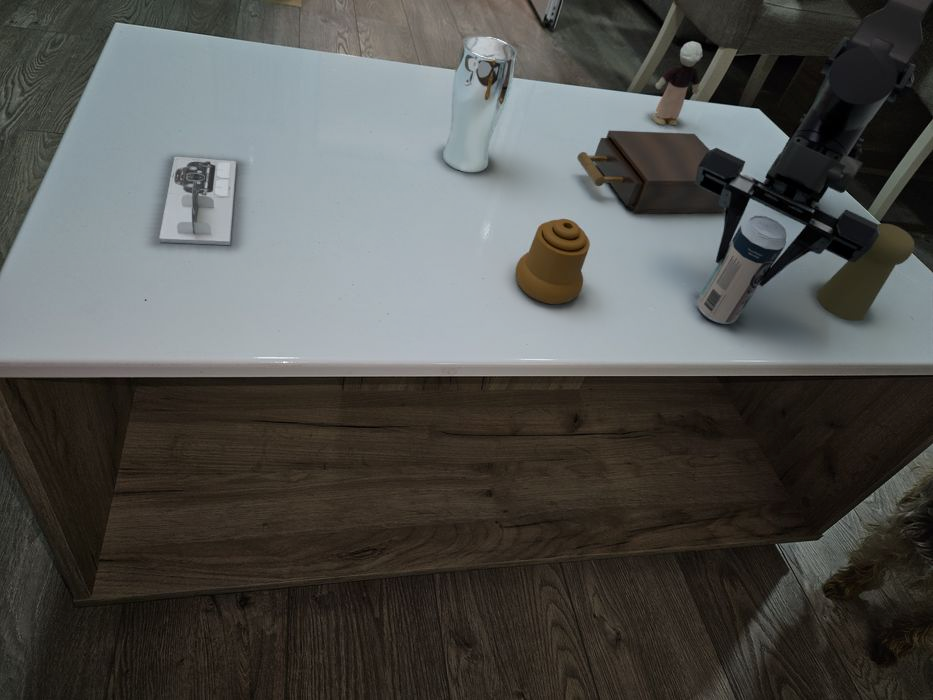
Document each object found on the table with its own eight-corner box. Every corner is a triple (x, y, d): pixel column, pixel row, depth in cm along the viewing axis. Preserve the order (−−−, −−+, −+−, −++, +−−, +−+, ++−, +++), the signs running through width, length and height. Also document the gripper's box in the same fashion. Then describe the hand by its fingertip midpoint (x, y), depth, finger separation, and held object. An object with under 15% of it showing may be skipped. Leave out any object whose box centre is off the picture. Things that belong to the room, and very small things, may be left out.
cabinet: (634, 213, 90) (648, 180, 86) (596, 162, 98) (608, 130, 94) (722, 212, 95) (739, 181, 91) (680, 163, 102) (694, 133, 99)
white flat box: (230, 245, 70) (228, 208, 67) (159, 242, 68) (153, 204, 65) (236, 164, 80) (234, 129, 77) (174, 159, 78) (170, 123, 75)
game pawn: (861, 328, 82) (922, 256, 74) (812, 304, 83) (867, 230, 76) (868, 303, 86) (926, 232, 78) (821, 281, 87) (874, 209, 80)
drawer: (598, 206, 88) (607, 183, 86) (566, 158, 95) (573, 136, 92) (710, 205, 94) (721, 184, 91) (672, 161, 101) (682, 140, 98)
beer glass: (430, 161, 89) (451, 45, 78) (451, 140, 94) (474, 28, 83) (479, 181, 88) (507, 66, 77) (498, 158, 93) (526, 48, 82)
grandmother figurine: (672, 113, 114) (706, 37, 106) (686, 125, 112) (722, 48, 103) (636, 115, 111) (668, 36, 102) (650, 127, 109) (683, 48, 100)
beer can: (737, 331, 77) (793, 246, 68) (695, 319, 77) (747, 233, 68) (733, 304, 80) (787, 220, 72) (694, 293, 80) (743, 207, 72)
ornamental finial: (501, 285, 74) (531, 254, 79) (562, 318, 72) (589, 284, 77) (519, 225, 68) (551, 195, 74) (586, 258, 67) (613, 226, 72)
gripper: (747, 72, 67) (661, 209, 68) (938, 155, 62) (844, 303, 63) (733, 122, 78) (659, 240, 78) (896, 197, 73) (815, 322, 73)
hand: (738, 273), depth 73 cm, fingers closed on beer can, 5 cm apart
